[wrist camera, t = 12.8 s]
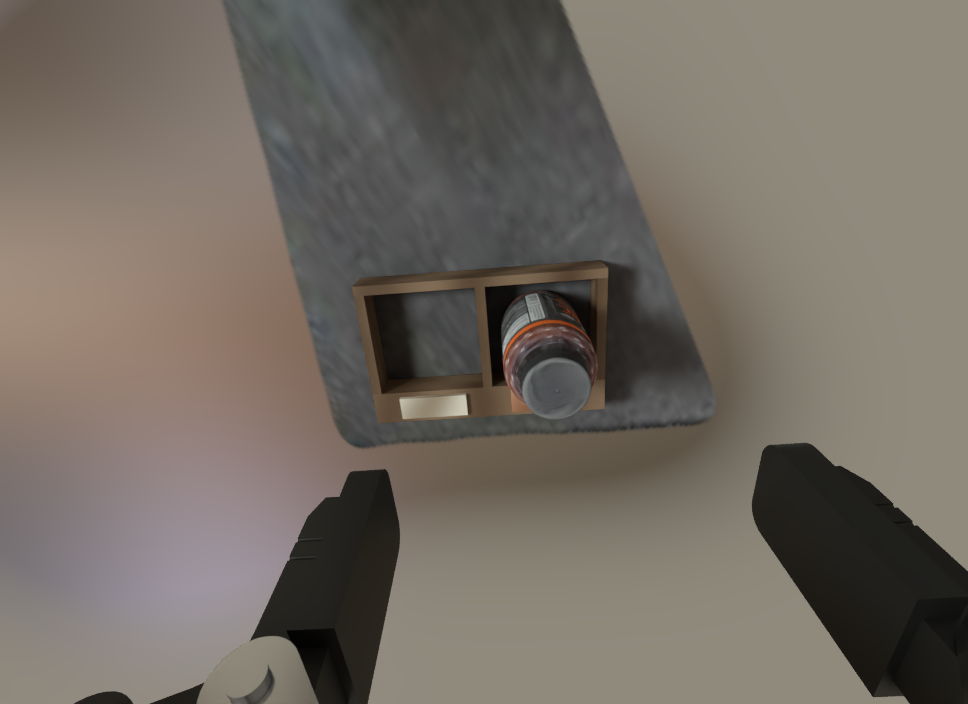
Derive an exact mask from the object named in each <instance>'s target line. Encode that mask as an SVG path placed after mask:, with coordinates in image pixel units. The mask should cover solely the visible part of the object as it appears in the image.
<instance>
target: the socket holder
mask: <svg viewBox="0 0 968 704" xmlns="http://www.w3.org/2000/svg"><path fill="white" fill-rule="evenodd" d="M585 279H591V291H590V340H591V342H592V345H593V347H594V349H595V352H596V355H597V360H598V372H597V377H596V380H595V382H594V385H593V387H592V388H591V394H590V397H589V399H588V401H587V403H586V404H585V406H584V407H583V408H582V409H581V410H594V409H604V404H605V368H606V332H607V297H608V267H607V266H606V265H605V264H604V263H603V262H602V261H601V260H597V261H584V262H571V263H557V264H544V265H531V266H517V267H504V268H491V269H477V270H464V271H451V272H437V273H424V274H411V275H397V276H384V277H371V278H360V279H359V280H358V281H357V282H356V283H355V284H354V285H353V286H352V290H353V295H354V301H355V306H356V311H357V316H358V321H359V326H360V331H361V337H362V342H363V347H364V352H365V357H366V362H367V368H368V373H369V378H370V383H371V388H372V393H373V398H374V404H375V409H376V414H377V419H378V423H389V422H405V421H421V420H436V419H452V418H468V417H484V416H499V415H515V414H531V413H534V412H532V411H531V410H530V409H529V408H528V406H527V405H525V404H523V403H522V402H520V401H519V400H518V399H517V398H516V397H515V396H514V395H513V393H512V392H511V391H510V389H509V387H508V385H507V383H506V380H505V376H504V372H498V373H492V365H491V352H490V339H489V327H488V314H487V301H486V288H485V287H490V286H504V285H518V284H531V283H545V282H558V281H572V280H585ZM463 288H475V297H476V308H477V319H478V331H479V342H480V354H481V365H482V374H468V375H453V376H438V377H423V378H408V379H393V380H388V378H387V372H386V367H385V361H384V355H383V350H382V344H381V338H380V333H379V327H378V321H377V316H376V310H375V304H374V299H373V295H382V294H395V293H409V292H422V291H436V290H450V289H463Z"/></svg>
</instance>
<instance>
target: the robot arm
mask: <svg viewBox="0 0 968 704" xmlns="http://www.w3.org/2000/svg"><path fill="white" fill-rule="evenodd" d="M752 512H753V517H754V520H755V523H756V525H757V527H758V530H759V532H760V533H761V535H762V536H763V538H764V539H765V541H766V542H767V543H768V545H769V546H770V548H771V549H772V551H773V552H774V554H775V555H776V557H777V558H778V559H779V561H780V562H781V564H782V565H783V567H784V568H785V570H786V571H787V572H788V574H789V575H790V577H791V578H792V580H793V581H794V583H795V584H796V586H797V587H798V588H799V590H800V592H801V593H802V594H803V596H804V597H805V599H806V600H807V602H808V603H809V605H810V606H811V608H812V609H813V610H814V611H815V613H816V615H817V616H818V618H819V619H820V620H821V622H822V623H823V625H824V626H825V628H826V629H827V631H828V632H829V633H830V635H831V637H832V638H833V639H834V641H835V642H836V644H837V645H838V647H839V648H840V650H841V651H842V653H843V654H844V656H845V657H846V658H847V660H848V661H849V663H850V664H851V666H852V667H853V669H854V670H855V672H856V673H857V675H858V676H859V677H860V679H861V680H862V681H863V683H864V685H865V686H866V688H867V689H868V691H869V692H870V693H871V695H872V696H873V697H888V696H904V697H905V698H906V699H907V701H908V702H909V703H910V704H968V571H967V570H966V569H965V568H963V567H962V566H961V565H960V564H959V563H958V562H957V561H956V560H954V559H953V558H952V557H951V556H950V555H949V554H948V553H947V552H946V551H945V550H944V549H943V548H941V547H940V546H939V545H938V544H937V543H936V542H935V541H934V540H933V539H931V538H930V537H929V536H928V535H927V534H926V533H925V532H924V531H923V530H922V529H921V528H919V527H918V526H914V525H913V523H912V520H911V519H910V518H909V517H907V516H906V515H905V514H904V513H903V512H902V511H901V510H900V509H899V508H894V506H893V503H892V502H891V501H890V500H889V499H888V498H886V497H885V496H884V495H883V494H882V493H881V492H880V491H879V490H878V489H877V488H875V487H874V486H873V485H872V484H871V483H870V482H868V481H866V480H864V479H863V478H861V477H859V476H857V475H856V474H854V473H852V472H850V471H849V470H847V469H845V468H843V467H842V466H834V465H833V464H832V463H831V462H830V461H829V460H828V459H827V458H826V457H824V455H823V454H822V453H821V452H819V451H818V450H817V449H816V448H815V447H814V446H813V445H811V444H808V443H795V444H780V445H768V446H767V447H765V448H764V450H763V452H762V456H761V461H760V466H759V471H758V475H757V480H756V485H755V489H754V494H753V500H752ZM399 544H400V528H399V520H398V516H397V511H396V506H395V502H394V497H393V492H392V488H391V484H390V479H389V475H388V472H387V471H386V470H385V469H384V470H367V471H353V472H350V474H349V475H348V477H347V480H346V482H345V485H344V487H343V489H342V492H341V494H340V497H330V498H325V499H324V500H323V501H322V502H321V503H320V504H319V505H318V507H317V508H316V509H315V510H314V511H313V512H312V513H311V514H310V515H309V516H308V517H307V519H306V522H305V524H304V526H303V528H302V530H301V533H300V535H299V537H298V542H297V543H296V544H295V546H294V548H293V550H292V552H291V554H290V560H289V561H287V563H286V565H285V567H284V569H283V572H282V574H281V576H280V578H279V580H278V583H277V585H276V587H275V589H274V591H273V594H272V595H271V598H270V600H269V602H268V605H267V606H266V609H265V611H264V613H263V615H262V617H261V619H260V622H259V624H258V626H257V628H256V630H255V632H254V634H253V636H252V638H251V640H250V641H249V642H247V643H245V644H243V645H241V646H239V647H238V648H236V649H235V650H233V651H232V652H231V653H230V654H228V655H227V656H226V657H225V658H224V659H223V660H222V661H221V662H220V663H219V664H218V665H217V666H216V667H215V668H214V670H213V671H212V672H211V673H210V675H209V676H208V678H207V679H206V681H205V682H204V683H202V684H200V685H198V686H196V687H193V688H191V689H188V690H186V691H183V692H180V693H177V694H175V695H172V696H169V697H167V698H164V699H161V700H159V701H156V702H153V703H151V704H368V699H369V694H370V689H371V684H372V679H373V674H374V669H375V665H376V660H377V654H378V650H379V645H380V640H381V635H382V631H383V626H384V621H385V616H386V611H387V606H388V601H389V597H390V591H391V586H392V582H393V577H394V571H395V567H396V562H397V558H398V552H399ZM74 704H133V703H132V701H131V700H130V699H129V698H128V697H127V696H126V695H124V694H123V693H120V692H103V693H98V694H95V695H92V696H89V697H86V698H84V699H82V700H80V701H78V702H76V703H74Z"/></svg>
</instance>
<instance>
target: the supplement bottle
mask: <svg viewBox="0 0 968 704" xmlns="http://www.w3.org/2000/svg"><path fill="white" fill-rule="evenodd" d="M501 339H502V354H503V368H504V376H505V380H506V383H507V385H508V387H509V389H510V391H511V392H512V393H513V395H514V396H515V397H516V398H517V399H518V400H519V401H520V402H522V403H523V404H525V405H527V406H528V408H529V409H530V410H531V411H532V412H534V413H535V414H536V415H538V416H540V417H543V418H547V419H563V418H567V417H570V416H572V415H574V414H576V413H577V412H578V411H580V410H581V409H582V408H583V407H584V406H585V404H586V403H587V401H588V399H589V397H590V394H591V388H592V387H593V385H594V382H595V380H596V377H597V372H598V360H597V355H596V352H595V349H594V347H593V345H592V342H591V340H590V338H589V337H588V335H587V333H586V331H585V330H584V328H583V326H582V324H581V322H580V320H579V318H578V317H577V315H576V313H575V311H574V310H573V307H572V306H571V305H570V304H569V303H568V302H567V301H566V300H565V299H564V298H562V297H561V296H559V295H558V294H555V293H553V292H549V291H545V290H537V291H531V292H527V293H525V294H522V295H520V296H519V297H517V298H516V299H515V300H514V301H513V302H512V303H511V304H510V305H509V306H508V307H507V309H506V311H505V313H504V315H503V319H502V323H501Z"/></svg>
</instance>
